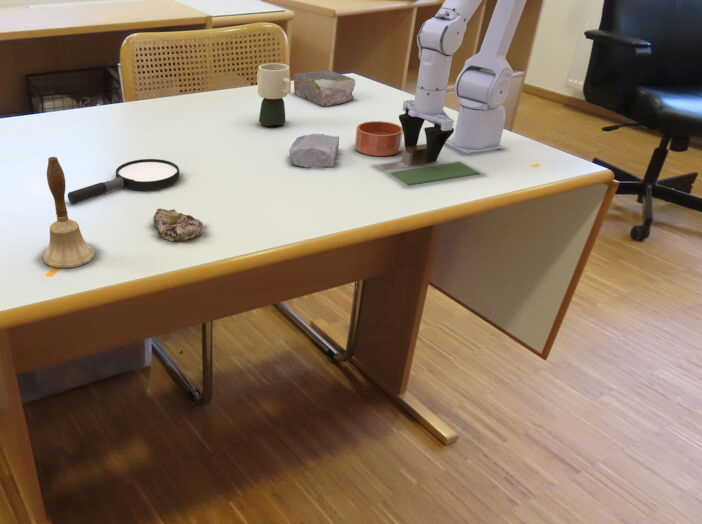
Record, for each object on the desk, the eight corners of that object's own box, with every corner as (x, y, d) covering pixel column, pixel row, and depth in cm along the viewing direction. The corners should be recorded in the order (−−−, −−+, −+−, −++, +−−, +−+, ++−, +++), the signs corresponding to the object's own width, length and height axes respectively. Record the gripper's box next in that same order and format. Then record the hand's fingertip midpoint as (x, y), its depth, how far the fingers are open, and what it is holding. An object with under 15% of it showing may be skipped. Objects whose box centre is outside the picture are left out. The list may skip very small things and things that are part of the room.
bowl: (384, 140, 153) (387, 119, 150) (408, 154, 146) (411, 132, 143) (346, 146, 150) (348, 124, 147) (368, 160, 143) (371, 137, 140)
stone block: (289, 174, 141) (337, 168, 139) (285, 151, 139) (334, 144, 136) (296, 157, 151) (341, 150, 148) (292, 135, 148) (339, 128, 146)
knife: (426, 159, 143) (429, 143, 141) (433, 163, 141) (436, 147, 139) (376, 166, 140) (378, 150, 138) (383, 171, 138) (385, 154, 136)
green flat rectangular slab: (458, 163, 141) (459, 161, 141) (480, 175, 136) (481, 173, 136) (389, 174, 137) (389, 172, 137) (408, 187, 131) (409, 185, 131)
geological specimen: (326, 68, 186) (360, 77, 174) (324, 92, 189) (357, 102, 178) (292, 72, 181) (325, 81, 170) (291, 96, 185) (324, 107, 173)
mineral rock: (217, 219, 114) (179, 220, 109) (212, 244, 116) (175, 246, 111) (178, 202, 121) (141, 202, 116) (175, 226, 123) (138, 227, 118)
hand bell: (32, 263, 107) (13, 164, 98) (60, 241, 114) (45, 146, 104) (78, 272, 105) (63, 171, 96) (104, 249, 111) (92, 152, 102)
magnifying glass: (53, 194, 130) (51, 183, 128) (153, 163, 143) (153, 152, 141) (90, 214, 122) (88, 202, 121) (192, 179, 135) (191, 168, 134)
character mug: (298, 126, 161) (302, 68, 154) (276, 133, 158) (279, 73, 150) (267, 116, 168) (269, 59, 160) (245, 122, 164) (246, 64, 157)
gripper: (393, 79, 137) (384, 146, 145) (435, 98, 126) (423, 170, 134) (424, 76, 139) (413, 142, 147) (467, 94, 128) (453, 165, 136)
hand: (420, 155), depth 141 cm, fingers open, 7 cm apart
